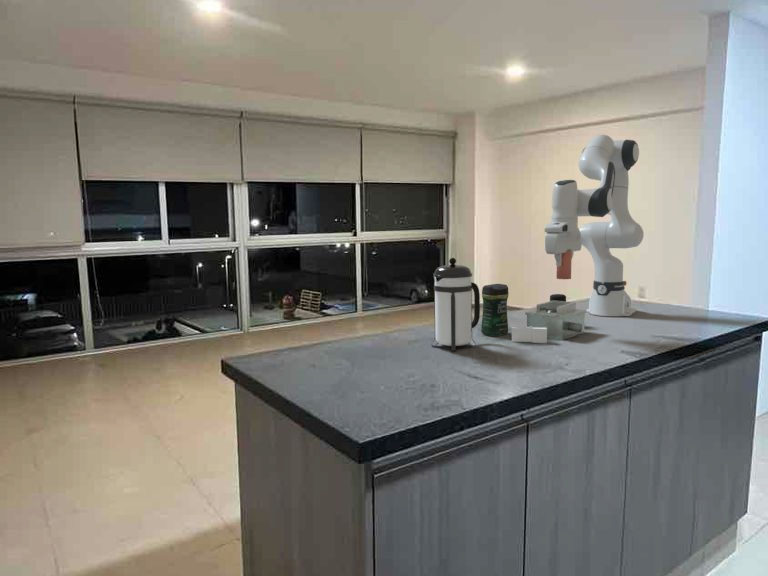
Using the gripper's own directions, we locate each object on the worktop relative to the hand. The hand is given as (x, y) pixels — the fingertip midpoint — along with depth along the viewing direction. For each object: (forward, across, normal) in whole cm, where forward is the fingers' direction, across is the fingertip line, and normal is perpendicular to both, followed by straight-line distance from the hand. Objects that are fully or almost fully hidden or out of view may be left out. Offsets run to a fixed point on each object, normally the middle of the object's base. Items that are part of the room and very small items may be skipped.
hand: (563, 265), depth 195 cm
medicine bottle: (+25, -13, -9) cm, 30 cm away
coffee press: (+25, +39, -18) cm, 50 cm away
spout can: (+5, 0, 0) cm, 5 cm away
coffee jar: (+25, +16, -18) cm, 35 cm away
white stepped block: (+26, +19, -2) cm, 32 cm away
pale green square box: (+25, +2, 0) cm, 25 cm away
